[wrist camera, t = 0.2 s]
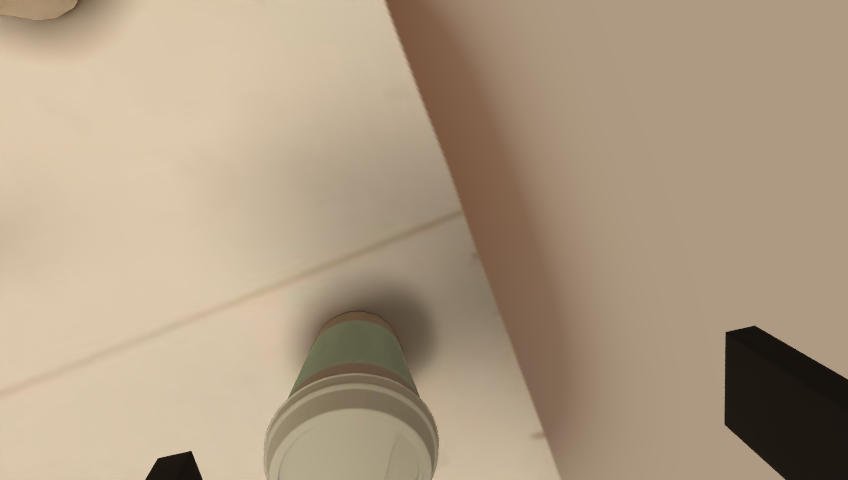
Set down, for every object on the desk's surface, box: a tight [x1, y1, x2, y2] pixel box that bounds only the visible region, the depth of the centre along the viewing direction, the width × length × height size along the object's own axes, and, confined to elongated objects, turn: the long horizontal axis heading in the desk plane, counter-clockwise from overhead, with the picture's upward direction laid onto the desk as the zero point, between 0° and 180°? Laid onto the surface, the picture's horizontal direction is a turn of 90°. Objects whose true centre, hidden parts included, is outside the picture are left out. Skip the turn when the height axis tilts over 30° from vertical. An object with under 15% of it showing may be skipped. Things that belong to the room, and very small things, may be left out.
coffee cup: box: [264, 312, 439, 480], centre depth 28 cm, size 9×9×12 cm
